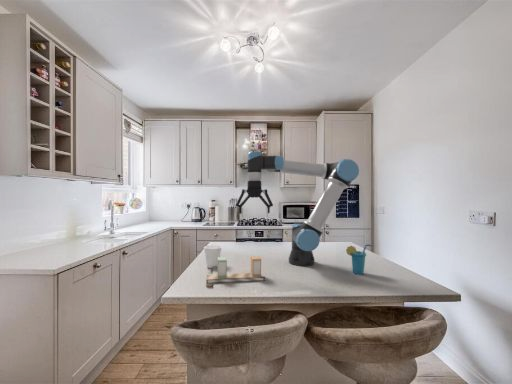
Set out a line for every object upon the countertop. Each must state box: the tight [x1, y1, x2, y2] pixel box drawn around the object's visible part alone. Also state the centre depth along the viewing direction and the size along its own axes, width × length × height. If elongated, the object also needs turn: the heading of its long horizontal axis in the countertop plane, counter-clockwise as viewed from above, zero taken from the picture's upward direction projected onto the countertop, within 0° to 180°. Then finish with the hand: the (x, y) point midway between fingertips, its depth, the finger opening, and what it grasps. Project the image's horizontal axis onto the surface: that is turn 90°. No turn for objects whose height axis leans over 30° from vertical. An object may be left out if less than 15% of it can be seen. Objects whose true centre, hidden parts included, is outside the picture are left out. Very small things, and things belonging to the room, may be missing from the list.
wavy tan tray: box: [205, 272, 266, 287], centre depth 123 cm, size 26×12×3 cm, turn 100°
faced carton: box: [250, 255, 262, 277], centre depth 125 cm, size 4×6×9 cm, turn 10°
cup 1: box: [203, 244, 223, 269], centre depth 145 cm, size 10×10×11 cm
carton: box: [216, 256, 228, 279], centre depth 123 cm, size 4×6×9 cm, turn 9°
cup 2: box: [345, 243, 374, 276], centre depth 136 cm, size 14×8×15 cm, turn 98°
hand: (254, 219), depth 142 cm, fingers open, 13 cm apart
